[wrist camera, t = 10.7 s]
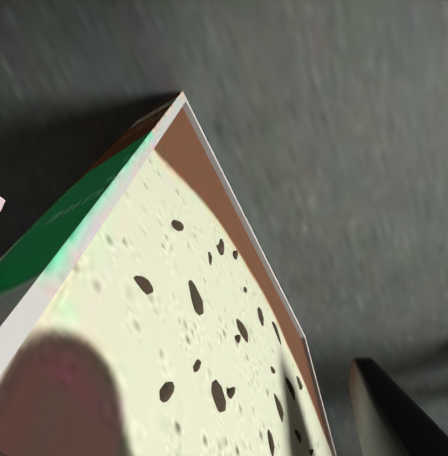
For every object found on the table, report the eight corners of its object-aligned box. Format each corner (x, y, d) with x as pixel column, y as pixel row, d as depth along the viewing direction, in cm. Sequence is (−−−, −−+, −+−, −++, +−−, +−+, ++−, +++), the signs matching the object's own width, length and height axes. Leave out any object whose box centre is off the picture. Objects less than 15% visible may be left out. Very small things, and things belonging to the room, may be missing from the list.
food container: (-57, 139, 11) (-1122, 802, 2) (152, 29, 9) (-462, 600, 1) (171, 406, 17) (125, 860, 8) (318, 361, 15) (443, 845, 7)
